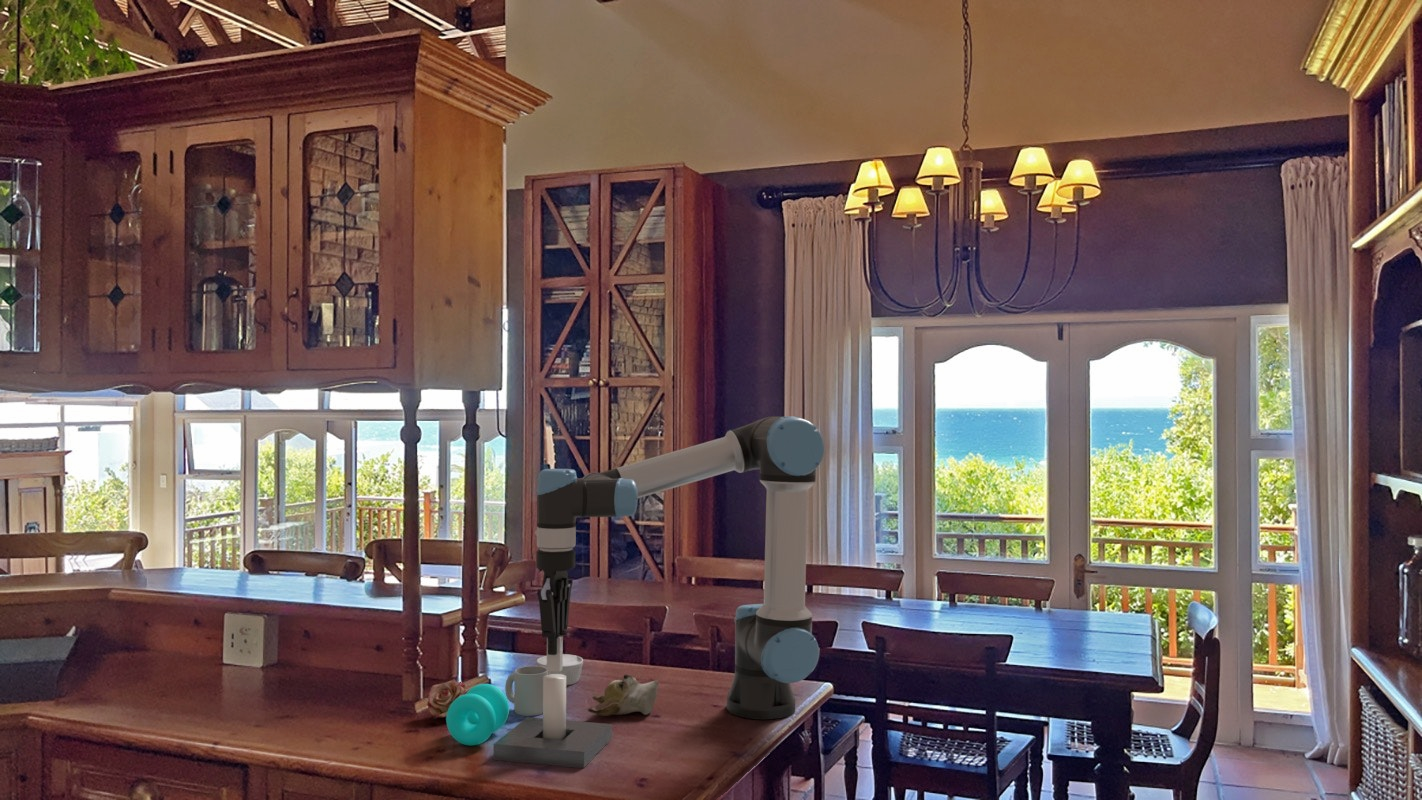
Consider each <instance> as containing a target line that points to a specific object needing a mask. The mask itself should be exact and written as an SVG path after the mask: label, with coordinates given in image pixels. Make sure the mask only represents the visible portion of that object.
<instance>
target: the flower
mask: <svg viewBox="0 0 1422 800" xmlns="http://www.w3.org/2000/svg"><path fill="white" fill-rule="evenodd" d="M465 692H467V691H466V685H465V683H464V681H463V682H462V681H459V682H457V681H456V679H455V678H453V679H451V680H449V681H446V682H442V683H439V684H437V683H436V684H434V685H432V686H431V687H430V691H429V694H428V697H427V699H428V701H427V704H426V705H427V708H428V711H429V714H431V716H433V719H438V718H446V716H447V711H448V709H449V707H450V705H451V703H452V702H453V701H454V700H455V699H457V698H458V697H460V696H462V695H465V694H466V693H465ZM433 719H432V720H433Z"/></svg>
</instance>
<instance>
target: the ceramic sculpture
mask: <svg viewBox="0 0 1422 800" xmlns="http://www.w3.org/2000/svg"><path fill="white" fill-rule="evenodd" d="M658 687H659V680H657V679H656V680H654V681H649V682H647V683H640V682H639V681H638V680H637V679H636V677H633V676H632V675H628V674H624V675H623V677H622V679H614V680H613V681H611V682H610V683H609V684H608V685H606V687H605V689H604V695H601V696H592V699H593V700H594V701H596V702H598V704H596V705H595V706H594V707H591V708H588V709H587V712H590V713H592V714H596V715H598V716H605V717H607V716H612V715H617V716H624V715H628V714H631V713H634V712H640V713H641V714H642V715H644V716H647V715H650V713H651V712H652V710H653V707H654V704H655V701H656V700H657V696H658V695H657V694H658V689H659V688H658ZM623 714H624V715H623Z"/></svg>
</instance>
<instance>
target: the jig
mask: <svg viewBox="0 0 1422 800" xmlns="http://www.w3.org/2000/svg"><path fill="white" fill-rule="evenodd" d="M612 727H613V724H611V723H602V722H588V721H580V720H579V721H578V720H577V721H576V720H567V719H566V738H565V739H564V740H556V739H544V738H543V717H542V718H540V717H531V716H526V718H525V719H523V720H522V721H521V722H520V723H518V724H517V725H516V726H514V727H513V728H512V729H510V730H509V731H508V732H507V733H506V734H504V735H503V736H502V737H500V738H499V739H498V740H497V741H495V742H494V743H493V754H492V756H493V761H502V762H513V763H523V764H534V765H543V766H544V765H545V766H556V767H568V768H579V769H585V768H586V767H587V766H588V765H589V764H590V763H591V762H592V761H593V759H595V758H596V756H597V755H598V754H599V753H600V752H601V751H602V750H603V749H604V748H605V747H604V746H605V745H606V743H607V744H609V742H610V741H612V739H611V738H612V736H613V735H612V731H613V730H612V729H613V728H612ZM609 740H610V741H609ZM608 741H609V742H608ZM606 746H607V745H606ZM603 747H604V748H603ZM602 748H603V749H602ZM601 749H602V750H601ZM600 750H601V751H600ZM599 751H600V752H599ZM598 752H599V753H598ZM597 753H598V754H597ZM596 754H597V755H596ZM595 755H596V756H595ZM590 761H591V762H590ZM589 762H590V763H589ZM588 763H589V764H588ZM587 764H588V765H587ZM586 765H587V766H586ZM585 766H586V767H585ZM582 767H583V768H582ZM584 767H585V768H584Z"/></svg>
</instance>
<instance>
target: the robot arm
mask: <svg viewBox="0 0 1422 800" xmlns="http://www.w3.org/2000/svg"><path fill="white" fill-rule="evenodd" d="M724 435H725V436H723V437H720V438H716V439H712V440H709V441H705V442H702V443H699V444H696V445H691V446H688V447H685V448H682V449H678V450H674V451H672V452H668V453H664V454H660V455H657V456H654V457H653V456H652V457H650V458H647V459H643V460H640V461H636V462H633V463H630V464H626V465H621V466H619V467H615V468H612V469H609V470H605V471H602V472H591V473H588V474H585V475H584V476H583V477H581V478H578V476H577V471H576V470H575V469H573V468H572V469H571V468H545V469H542V470H540V471H539V473H538V474H537V475H538V476H537V487H536V489H537V490H536V530H535V531H534V535H535V536H536V546H537V548H538V549H537V551H536V552H535V557H536V558H535V567H536V569H537V570H539V571H543V578H542V583H541V584H542V589H541V588H538V589H537V592H536V595H537V599H538V603H539V615H540V624H541V625H540V626H541V627H540V628H541V629H540V630H541V638H546V656H547V671H558V672H560V671H561V670H562V668H563V654H564V652H563V650H564V647H563V645H564V644H563V643H564V636H568V634H569V631H567V630H568V626H569V625H568V624H569V613H570V603H571V594H572V593H571V591H572V587H573V583H574V580H573V579H571V578H570V579H569V578H568V577H569V575H568V571H572V570H573V569H574V568H575V567H576V550H575V549H574V548H575V546H576V545H577V544H576V541H577V540H576V539H577V537H576V535H577V533H576V531H577V530H576V529H577V528H576V527H577V526H576V524H577V523H576V522H577V521H576V520H577V518H622V517H623V518H624V517H632V516H634V515H635V514H636V512H637V508H638V502H639V501H638V499H640V498H644V497H647V496H650V495H654V494H657V493H658V494H659V493H660V492H665V491H668V490H671V489H674V488H678V487H682V486H684V485H688V484H692V483H695V482H699V481H702V480H706V479H708V478H712V477H716V476H719V475H723V474H726V473H729V472H733V471H735V472H737V473H739V474H741V473H746V472H748V471H754V470H755V471H756V470H759V482H760V484H762V485H763V486H764V487H765V490H766V502H765V543H764V544H765V546H764V574H763V575H764V576H763V579H764V581H763V586H764V587H763V603H752V604H742V605H739V606H738V607H737V608H736V610H735V618H734V622H733V623H734V624H735V625H734V632H735V633H734V642H735V643H734V676H733V678H732V681H731V685H730V688H729V691H728V694H727V698H726V710H727V711H728V712H729V713H730V714H732V715H734V716H737V717H741V718H744V717H745V718H744V719H752V720H775V719H777V720H778V719H783V718H785V717H789V716H791V715H793V714H794V713H795V712H796V697H795V694H794V691H793V688H792V685H791V684H794V683H798V682H801V681H803V680H805V679H806V678H807V677H808V676H809V675H810V674H812V672H813V671H814V670H815V669H816V667H817V666H818V665H817V664H818V662H819V657H820V649H819V648H820V647H819V644H818V641H817V639H816V638H815V635H813V632H812V631H813V613H812V612H811V611H810V610H809V609H808V608H807V606H806V581H807V580H806V575H807V543H808V542H807V541H808V540H807V539H808V501H809V500H808V499H809V497H808V496H809V495H808V494H809V490H810V489H811V488H812V487H813V486H814V485H815V484H816V482H817V481H816V477H817V475H816V474H817V468H818V467H819V466H820V465H821V463H822V461H823V458H824V456H825V455H824V454H825V441H824V439H823V436H822V434H821V432H820V430H819V429H818V428H817V427H816V425H814V424H813V423H812V422H811V421H809V420H806V419H805V418H801V417H798V416H792V415H790V416H776V415H775V416H773V415H772V416H768V417H764V418H761V419H758V420H755V421H753V422H750V423H748V424H746V425H743V426H740V427H737V428H734V429H729V430H727V432H726V433H725V434H724Z"/></svg>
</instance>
